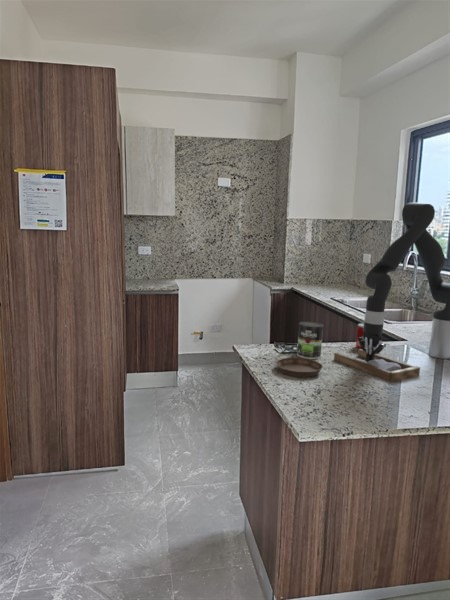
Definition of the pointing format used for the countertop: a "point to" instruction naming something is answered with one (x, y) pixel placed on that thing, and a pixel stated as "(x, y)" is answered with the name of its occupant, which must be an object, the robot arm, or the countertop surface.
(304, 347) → the coffee can
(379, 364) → the stone block
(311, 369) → the plant saucer
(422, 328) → the countertop surface
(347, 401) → the countertop surface
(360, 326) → the canned food
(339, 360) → the wooden serving tray
